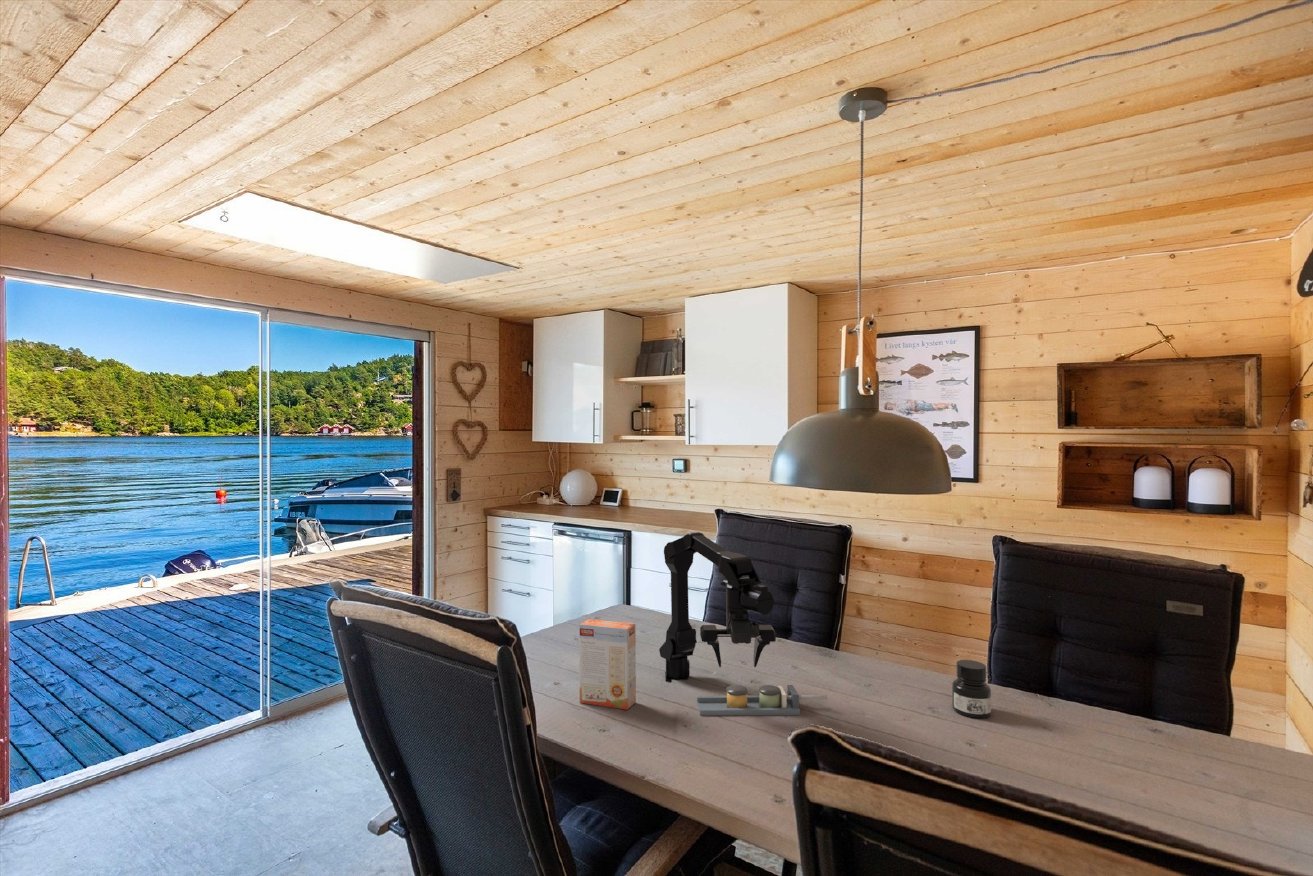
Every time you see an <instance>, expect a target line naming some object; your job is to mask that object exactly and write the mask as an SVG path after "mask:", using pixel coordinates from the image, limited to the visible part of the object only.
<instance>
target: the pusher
mask: <svg viewBox="0 0 1313 876" xmlns="http://www.w3.org/2000/svg"><path fill="white" fill-rule="evenodd" d="M777 687H778V688H780V707H781V708H787V700H792V695H787V693H786V692H785V689H784V688H783V686H782V685H777ZM800 700H803V701H805V700H809V701H810V700H813V701H815V700H828V696H827V694H826V695H825V694H824V695H823V694H822V695H821V694H820V695H819V694H818V695H817V694H816V695H812V694H811V695H810V694H809V695H807V694H805V695H803V694H799V701H800Z"/></svg>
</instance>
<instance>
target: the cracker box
mask: <svg viewBox="0 0 1313 876" xmlns="http://www.w3.org/2000/svg"><path fill="white" fill-rule="evenodd" d="M636 640H637V639H636V623H632V622H623V621H614V620H613V621H611V620H601V619H593V618H589V619H586V620H585V621H583V622H581V623H580V624H579V661H578V662H579V676H578V677H579V703H582V704H586V705H593V706H594V705H595V706H600V707H606V708H613V709H619V710H620V709H621V710H626V711H627V710H629V709H630V708H631V707H632V706H633V705H634V704H635V703H636V701H637V700H636V699H637V696H636V692H637V690H636V688H637V685H636V681H637V679H636V677H637V674H636V672H637V671H636V670H637V668H636V667H637V665H636V664H637V663H636V660H637V659H636V657H637V656H636V650H637V647H636V643H637V642H636Z"/></svg>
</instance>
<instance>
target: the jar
mask: <svg viewBox="0 0 1313 876" xmlns="http://www.w3.org/2000/svg"><path fill="white" fill-rule="evenodd" d="M748 691H749V690H748V688H747V687H746V686H743V685H737V684H732V685H729V686H727V687H726V696H727V708H747V696H748Z"/></svg>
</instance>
